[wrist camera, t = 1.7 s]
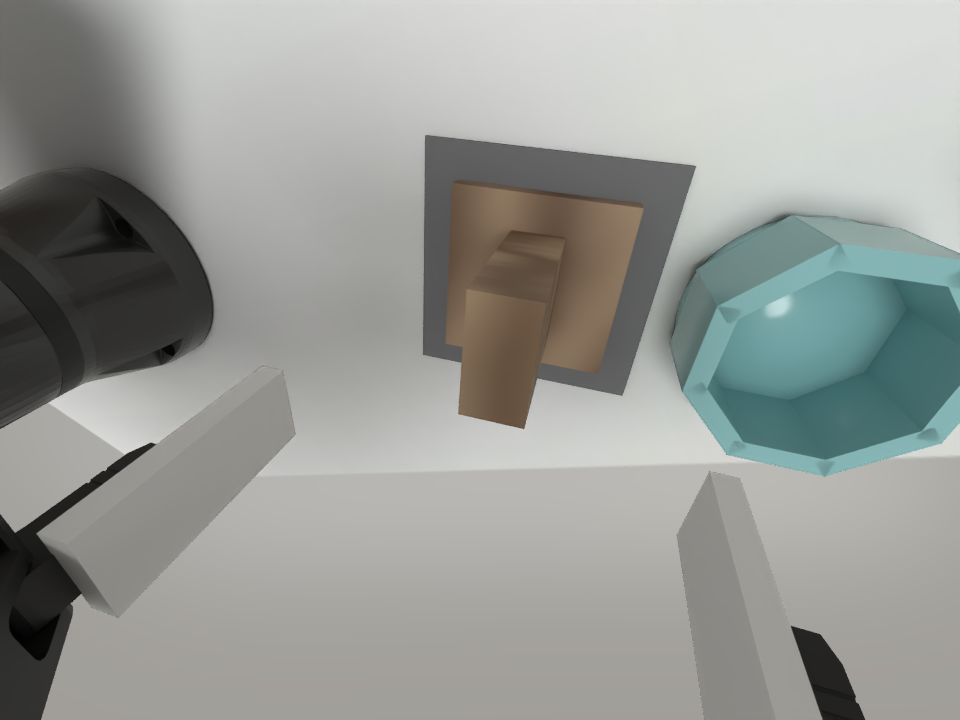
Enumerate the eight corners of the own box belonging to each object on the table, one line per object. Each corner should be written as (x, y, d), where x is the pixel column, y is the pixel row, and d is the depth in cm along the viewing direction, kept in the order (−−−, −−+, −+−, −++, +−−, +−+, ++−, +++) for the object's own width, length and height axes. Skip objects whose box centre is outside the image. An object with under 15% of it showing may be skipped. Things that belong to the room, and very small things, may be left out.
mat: (424, 352, 31) (423, 354, 31) (427, 135, 23) (425, 135, 23) (622, 393, 29) (622, 395, 28) (694, 166, 21) (695, 166, 21)
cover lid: (450, 335, 29) (387, 430, 21) (458, 179, 24) (377, 221, 15) (598, 364, 28) (595, 480, 19) (642, 203, 22) (664, 265, 14)
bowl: (651, 379, 27) (661, 440, 23) (715, 201, 22) (748, 230, 17) (841, 417, 26) (898, 492, 21) (967, 233, 20) (1088, 277, 15)
